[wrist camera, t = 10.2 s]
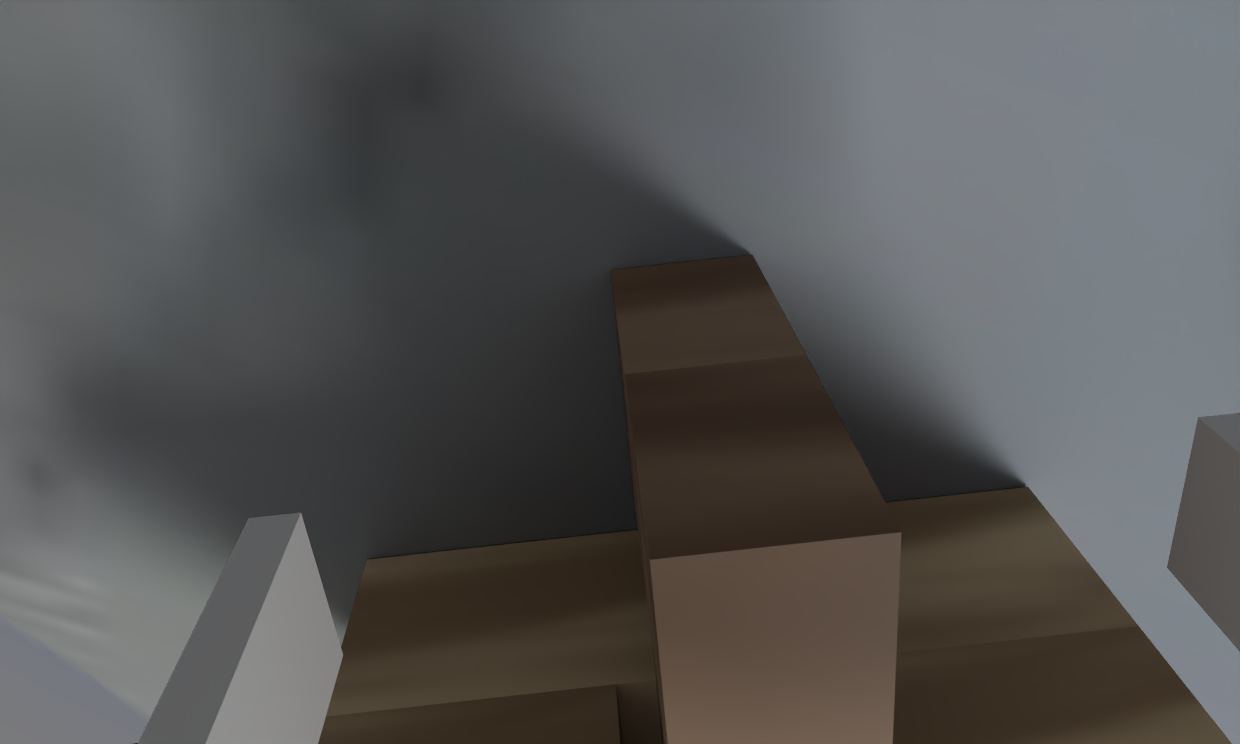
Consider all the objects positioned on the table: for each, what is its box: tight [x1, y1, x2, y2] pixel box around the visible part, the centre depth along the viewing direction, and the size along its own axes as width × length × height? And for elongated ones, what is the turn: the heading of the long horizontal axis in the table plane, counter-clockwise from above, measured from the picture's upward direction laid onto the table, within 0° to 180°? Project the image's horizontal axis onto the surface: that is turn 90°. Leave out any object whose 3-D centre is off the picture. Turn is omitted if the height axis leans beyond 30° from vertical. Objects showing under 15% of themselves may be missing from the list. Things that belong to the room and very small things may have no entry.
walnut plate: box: [611, 255, 901, 744], centre depth 20 cm, size 16×3×10 cm, turn 5°
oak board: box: [318, 487, 1232, 744], centre depth 20 cm, size 3×16×10 cm, turn 95°
